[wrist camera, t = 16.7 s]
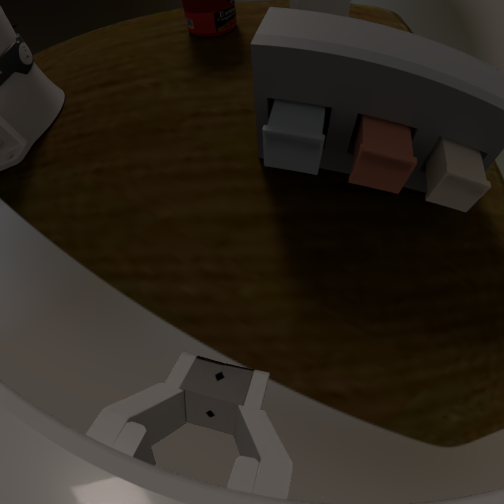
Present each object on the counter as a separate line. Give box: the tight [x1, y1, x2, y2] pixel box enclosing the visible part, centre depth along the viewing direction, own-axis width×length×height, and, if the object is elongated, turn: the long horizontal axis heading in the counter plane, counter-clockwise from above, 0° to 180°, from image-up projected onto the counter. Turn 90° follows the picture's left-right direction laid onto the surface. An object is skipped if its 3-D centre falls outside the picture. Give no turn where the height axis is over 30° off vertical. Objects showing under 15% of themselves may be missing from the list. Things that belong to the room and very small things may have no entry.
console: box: [250, 7, 504, 193], centre depth 23 cm, size 7×21×13 cm, turn 77°
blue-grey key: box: [263, 99, 326, 175], centre depth 24 cm, size 8×4×4 cm, turn 167°
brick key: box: [348, 113, 417, 194], centre depth 23 cm, size 8×4×4 cm, turn 167°
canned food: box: [182, 0, 237, 37], centre depth 35 cm, size 8×8×11 cm
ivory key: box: [425, 136, 491, 212], centre depth 22 cm, size 8×4×4 cm, turn 167°
